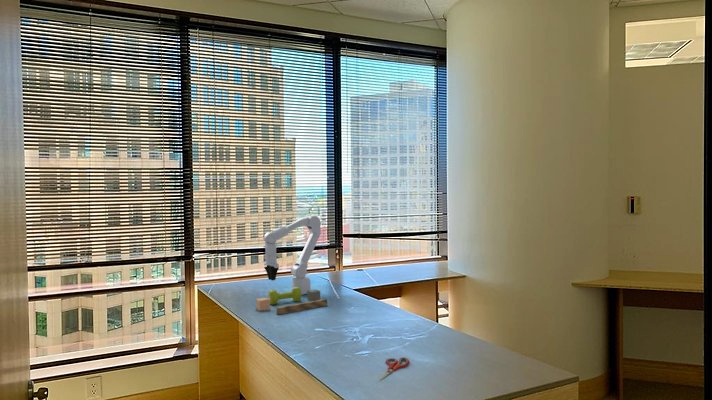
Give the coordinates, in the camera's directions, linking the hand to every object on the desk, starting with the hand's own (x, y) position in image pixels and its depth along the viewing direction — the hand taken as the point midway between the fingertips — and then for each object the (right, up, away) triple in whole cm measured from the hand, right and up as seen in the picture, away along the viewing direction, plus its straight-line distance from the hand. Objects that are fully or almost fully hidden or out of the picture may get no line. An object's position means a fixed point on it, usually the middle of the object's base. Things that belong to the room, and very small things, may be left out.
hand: (272, 279), depth 266 cm
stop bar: (+20, -9, -30) cm, 37 cm away
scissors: (+57, -11, -113) cm, 127 cm away
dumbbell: (+9, -10, -13) cm, 19 cm away
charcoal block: (+24, -9, -11) cm, 28 cm away
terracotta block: (0, -10, -26) cm, 28 cm away
